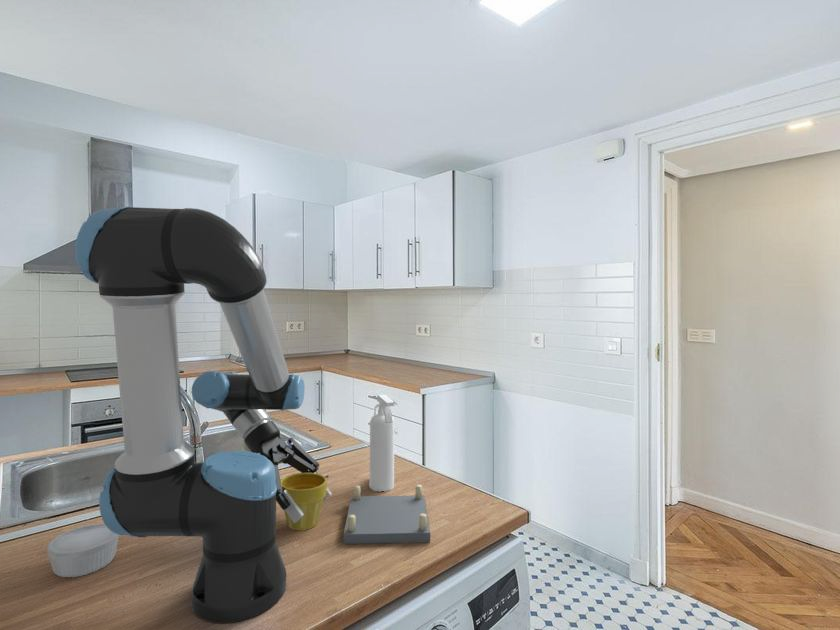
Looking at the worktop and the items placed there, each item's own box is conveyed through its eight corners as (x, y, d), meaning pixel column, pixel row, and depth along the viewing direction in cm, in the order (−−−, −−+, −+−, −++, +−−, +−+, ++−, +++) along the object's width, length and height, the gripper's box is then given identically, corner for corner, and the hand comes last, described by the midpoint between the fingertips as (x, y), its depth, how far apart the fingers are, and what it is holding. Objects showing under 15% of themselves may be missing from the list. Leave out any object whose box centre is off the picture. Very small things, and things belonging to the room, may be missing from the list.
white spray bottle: (384, 474, 131) (384, 388, 129) (401, 492, 120) (401, 399, 118) (362, 478, 128) (361, 391, 126) (377, 497, 118) (376, 402, 116)
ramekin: (109, 541, 95) (109, 516, 94) (129, 562, 87) (129, 535, 87) (40, 566, 86) (39, 538, 86) (56, 590, 79) (55, 560, 79)
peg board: (430, 542, 96) (430, 518, 96) (343, 543, 95) (343, 520, 94) (424, 503, 114) (424, 483, 113) (351, 504, 113) (351, 484, 112)
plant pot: (324, 510, 109) (325, 470, 109) (328, 531, 99) (328, 487, 99) (279, 515, 107) (279, 473, 106) (278, 538, 97) (278, 492, 96)
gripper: (280, 427, 118) (331, 497, 113) (210, 455, 97) (270, 542, 92) (297, 409, 116) (350, 479, 111) (229, 433, 95) (292, 521, 90)
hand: (314, 508), depth 102 cm, fingers closed on plant pot, 10 cm apart
